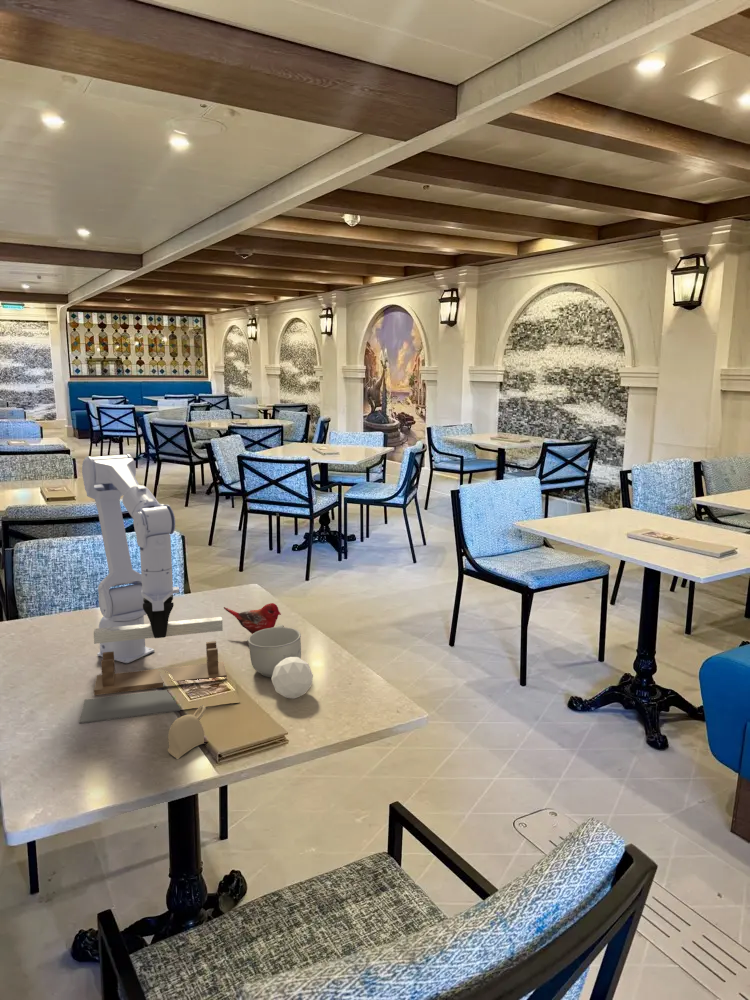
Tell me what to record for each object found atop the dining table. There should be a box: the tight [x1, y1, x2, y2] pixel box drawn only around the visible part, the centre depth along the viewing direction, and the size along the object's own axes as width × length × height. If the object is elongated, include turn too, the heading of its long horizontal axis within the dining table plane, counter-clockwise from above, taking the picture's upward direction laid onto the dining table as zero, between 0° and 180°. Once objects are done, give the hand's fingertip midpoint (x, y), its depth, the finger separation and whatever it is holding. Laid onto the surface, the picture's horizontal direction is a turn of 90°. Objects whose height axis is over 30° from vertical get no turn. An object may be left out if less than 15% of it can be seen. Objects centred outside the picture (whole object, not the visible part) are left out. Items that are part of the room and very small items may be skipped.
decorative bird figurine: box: [223, 602, 282, 635], centre depth 161 cm, size 3×18×10 cm, turn 58°
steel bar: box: [93, 616, 224, 644], centre depth 136 cm, size 24×2×2 cm, turn 107°
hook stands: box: [93, 640, 227, 696], centre depth 139 cm, size 25×7×6 cm, turn 107°
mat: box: [78, 689, 181, 724], centre depth 130 cm, size 28×9×1 cm, turn 107°
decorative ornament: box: [167, 705, 207, 760], centre depth 115 cm, size 4×8×5 cm, turn 144°
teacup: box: [247, 624, 302, 678], centre depth 145 cm, size 14×11×8 cm
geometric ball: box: [271, 657, 314, 699], centre depth 133 cm, size 8×8×8 cm
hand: (160, 634), depth 136 cm, fingers closed on steel bar, 2 cm apart
